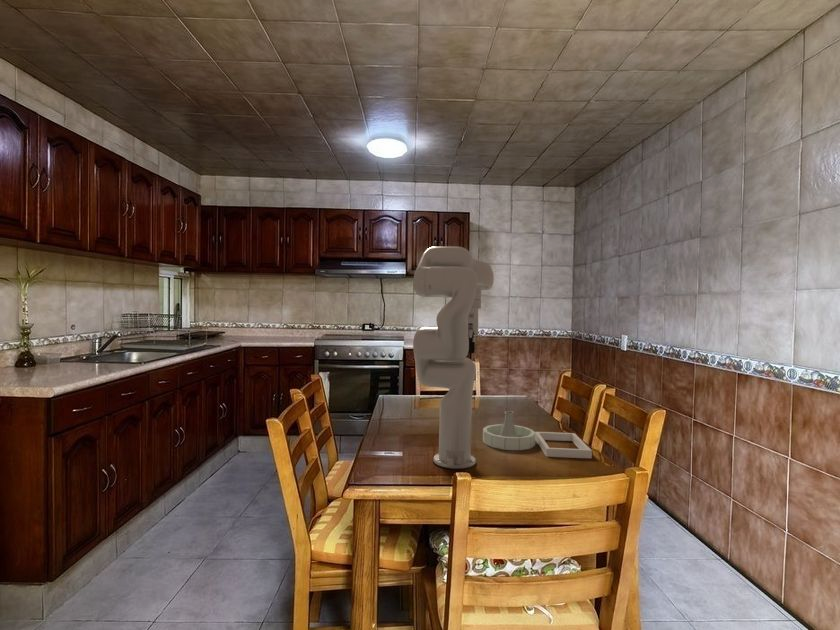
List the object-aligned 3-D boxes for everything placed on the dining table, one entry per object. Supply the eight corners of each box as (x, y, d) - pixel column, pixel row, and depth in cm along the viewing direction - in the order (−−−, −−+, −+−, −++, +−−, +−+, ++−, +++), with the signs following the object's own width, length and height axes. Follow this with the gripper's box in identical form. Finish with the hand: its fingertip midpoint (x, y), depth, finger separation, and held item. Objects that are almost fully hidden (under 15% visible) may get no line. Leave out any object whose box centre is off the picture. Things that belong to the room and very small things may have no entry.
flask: (519, 444, 157) (519, 415, 156) (497, 442, 158) (498, 413, 158) (519, 438, 164) (519, 410, 163) (498, 437, 165) (498, 409, 165)
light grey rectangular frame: (591, 458, 146) (591, 450, 145) (546, 456, 146) (546, 448, 146) (574, 440, 165) (574, 433, 165) (534, 438, 166) (534, 431, 166)
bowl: (538, 451, 152) (539, 439, 152) (485, 448, 153) (485, 436, 153) (529, 436, 169) (529, 425, 169) (481, 434, 170) (481, 423, 170)
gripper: (482, 304, 159) (481, 354, 159) (479, 304, 176) (478, 349, 177) (460, 304, 159) (459, 354, 160) (459, 304, 177) (458, 349, 177)
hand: (469, 351), depth 168 cm, fingers open, 9 cm apart
